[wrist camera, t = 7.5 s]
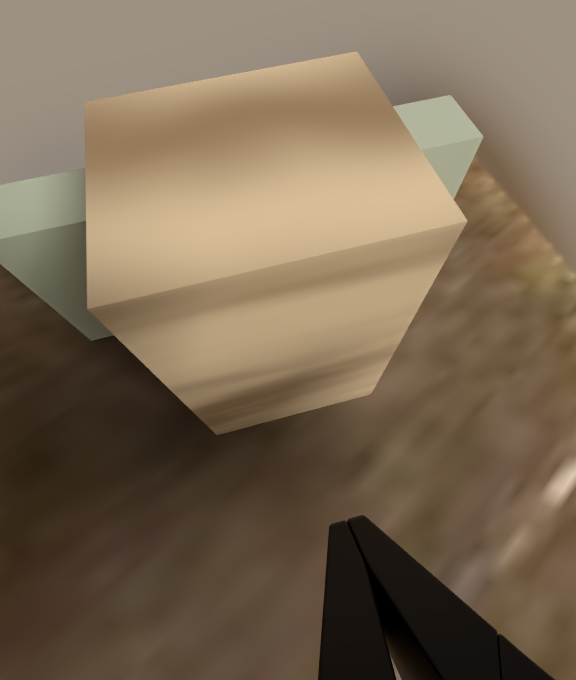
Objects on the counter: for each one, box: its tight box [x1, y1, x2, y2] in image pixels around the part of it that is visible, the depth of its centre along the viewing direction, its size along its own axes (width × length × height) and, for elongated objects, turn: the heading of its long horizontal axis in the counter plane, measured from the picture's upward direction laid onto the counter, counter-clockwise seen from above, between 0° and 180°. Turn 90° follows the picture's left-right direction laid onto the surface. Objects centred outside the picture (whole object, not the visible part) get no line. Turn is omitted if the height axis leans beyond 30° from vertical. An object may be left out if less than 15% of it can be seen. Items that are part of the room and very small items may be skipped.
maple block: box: [84, 52, 467, 435], centre depth 14 cm, size 7×8×12 cm
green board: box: [0, 95, 483, 341], centre depth 18 cm, size 3×20×8 cm, turn 105°
